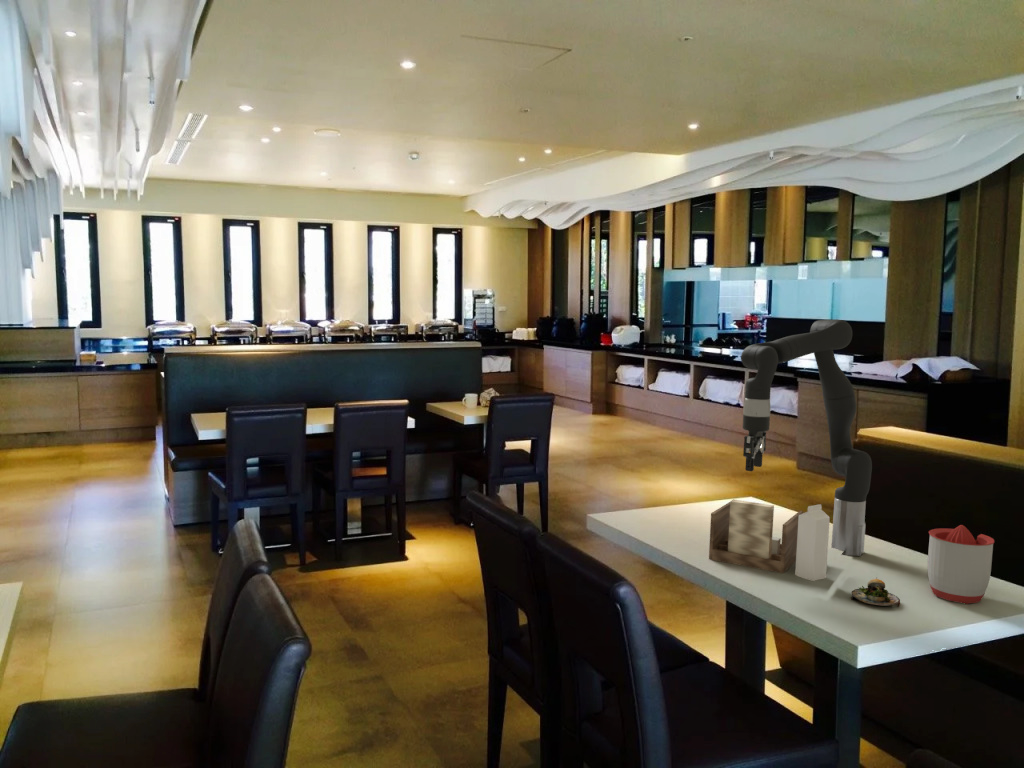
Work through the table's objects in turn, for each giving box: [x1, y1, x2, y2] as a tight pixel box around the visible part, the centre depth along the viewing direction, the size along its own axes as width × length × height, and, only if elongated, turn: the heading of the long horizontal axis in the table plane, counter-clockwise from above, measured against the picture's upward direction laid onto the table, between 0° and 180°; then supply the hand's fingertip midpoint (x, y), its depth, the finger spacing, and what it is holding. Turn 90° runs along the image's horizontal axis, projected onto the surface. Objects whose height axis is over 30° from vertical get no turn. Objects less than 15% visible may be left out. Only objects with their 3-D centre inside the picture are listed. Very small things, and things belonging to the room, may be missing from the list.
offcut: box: [771, 536, 782, 555], centre depth 244 cm, size 5×3×7 cm, turn 57°
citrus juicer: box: [927, 524, 995, 605], centre depth 221 cm, size 16×17×20 cm
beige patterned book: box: [728, 499, 775, 559], centre depth 241 cm, size 12×3×18 cm, turn 58°
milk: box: [794, 504, 831, 582], centre depth 230 cm, size 6×6×22 cm
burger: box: [850, 578, 901, 608], centre depth 216 cm, size 12×12×8 cm
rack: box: [708, 501, 804, 574], centre depth 247 cm, size 22×20×16 cm
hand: (753, 468), depth 239 cm, fingers open, 8 cm apart
